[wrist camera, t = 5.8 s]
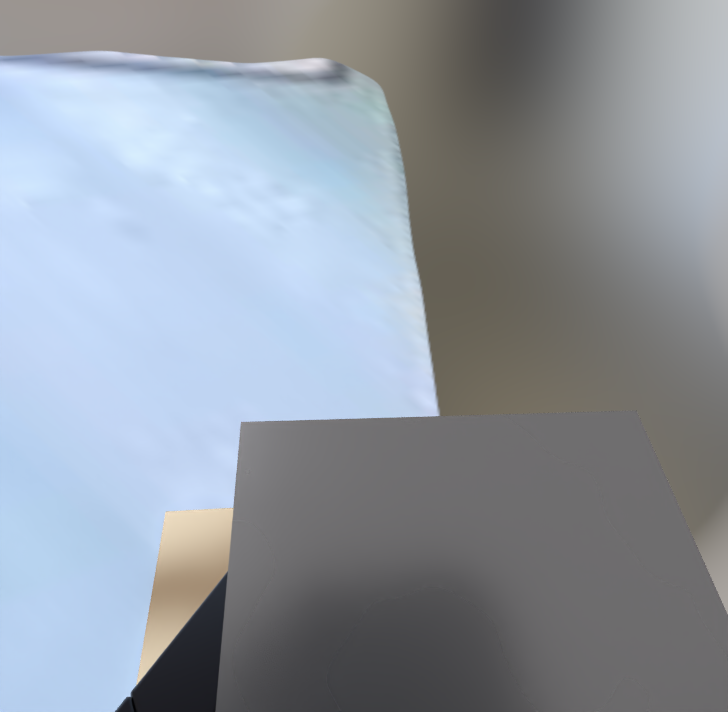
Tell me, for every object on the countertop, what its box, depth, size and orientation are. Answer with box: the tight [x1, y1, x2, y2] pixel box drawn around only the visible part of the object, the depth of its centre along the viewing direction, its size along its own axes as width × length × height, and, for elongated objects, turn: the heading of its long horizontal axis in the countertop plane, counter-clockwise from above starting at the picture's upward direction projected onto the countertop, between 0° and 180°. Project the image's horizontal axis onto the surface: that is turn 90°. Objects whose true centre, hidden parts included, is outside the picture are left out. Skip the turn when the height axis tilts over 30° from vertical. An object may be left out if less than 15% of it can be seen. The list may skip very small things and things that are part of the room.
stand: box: [136, 508, 233, 685], centre depth 17 cm, size 8×13×4 cm, turn 94°
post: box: [215, 411, 728, 712], centre depth 8 cm, size 4×4×11 cm
